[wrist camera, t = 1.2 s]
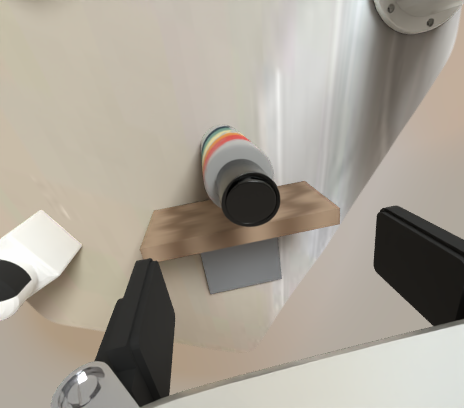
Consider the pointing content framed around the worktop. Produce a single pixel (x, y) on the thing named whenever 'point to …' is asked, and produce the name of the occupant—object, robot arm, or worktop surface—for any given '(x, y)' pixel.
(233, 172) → the lotion bottle
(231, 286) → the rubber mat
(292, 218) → the brown wooden board
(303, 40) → the worktop surface
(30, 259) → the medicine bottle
